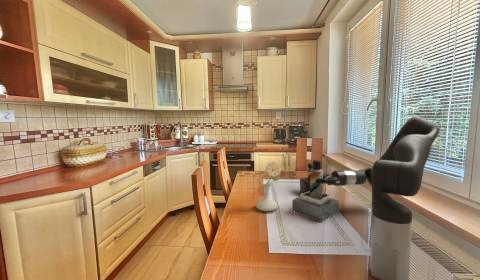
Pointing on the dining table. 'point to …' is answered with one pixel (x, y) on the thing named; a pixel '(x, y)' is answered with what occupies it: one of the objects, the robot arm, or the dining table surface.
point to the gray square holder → (316, 206)
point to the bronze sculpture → (305, 181)
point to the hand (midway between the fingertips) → (312, 179)
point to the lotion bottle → (315, 174)
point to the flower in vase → (266, 201)
